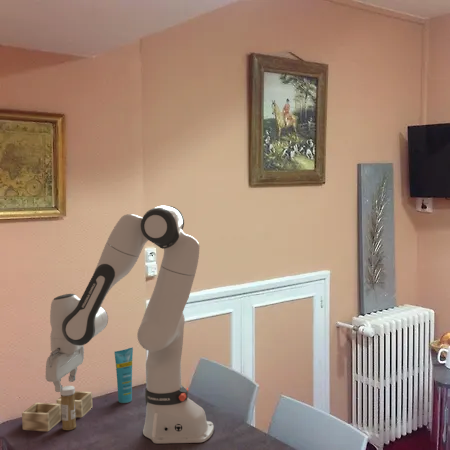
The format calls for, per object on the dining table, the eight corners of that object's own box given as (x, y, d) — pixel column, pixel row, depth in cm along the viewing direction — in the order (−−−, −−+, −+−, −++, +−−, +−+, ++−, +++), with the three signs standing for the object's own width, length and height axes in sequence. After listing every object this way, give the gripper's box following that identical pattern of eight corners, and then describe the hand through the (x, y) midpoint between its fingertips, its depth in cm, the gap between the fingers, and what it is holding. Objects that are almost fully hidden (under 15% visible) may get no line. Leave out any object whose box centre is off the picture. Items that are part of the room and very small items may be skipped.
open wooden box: (92, 407, 209) (91, 392, 209) (81, 417, 200) (81, 401, 200) (68, 406, 211) (68, 390, 210) (57, 416, 202) (56, 400, 202)
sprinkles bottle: (78, 428, 191) (76, 388, 190) (64, 432, 189) (62, 391, 188) (73, 423, 195) (71, 384, 194) (59, 427, 193) (58, 387, 192)
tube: (120, 405, 210) (118, 352, 209) (112, 402, 214) (110, 350, 212) (137, 399, 216) (135, 348, 214) (129, 396, 219) (128, 345, 218)
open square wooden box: (61, 420, 198) (60, 403, 198) (48, 431, 190) (47, 414, 189) (36, 418, 200) (35, 402, 200) (22, 429, 191) (21, 412, 191)
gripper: (58, 354, 179) (59, 398, 180) (87, 336, 199) (87, 376, 200) (39, 352, 180) (40, 397, 182) (69, 335, 200) (70, 375, 202)
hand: (65, 386), depth 191 cm, fingers open, 8 cm apart
